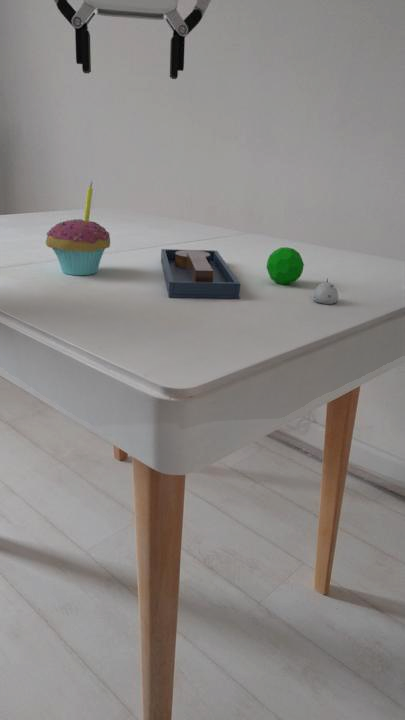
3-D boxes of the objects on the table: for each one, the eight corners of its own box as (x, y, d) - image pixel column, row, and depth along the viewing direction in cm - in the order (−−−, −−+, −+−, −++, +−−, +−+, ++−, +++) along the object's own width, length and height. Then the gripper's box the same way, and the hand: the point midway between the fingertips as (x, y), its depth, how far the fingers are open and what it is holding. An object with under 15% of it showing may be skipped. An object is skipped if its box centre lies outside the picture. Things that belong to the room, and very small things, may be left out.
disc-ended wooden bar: (173, 261, 86) (174, 244, 85) (207, 262, 86) (208, 245, 85) (182, 290, 70) (183, 270, 69) (224, 291, 71) (225, 271, 70)
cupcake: (95, 263, 84) (93, 178, 79) (121, 275, 77) (121, 184, 73) (39, 268, 79) (33, 178, 75) (61, 281, 73) (57, 185, 68)
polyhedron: (257, 280, 78) (260, 246, 77) (282, 277, 81) (286, 244, 79) (283, 289, 75) (287, 253, 73) (308, 285, 78) (312, 250, 76)
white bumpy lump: (330, 297, 72) (333, 277, 71) (343, 306, 69) (346, 285, 68) (307, 297, 72) (309, 277, 71) (318, 306, 68) (321, 285, 67)
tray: (168, 297, 68) (169, 282, 68) (161, 261, 87) (161, 248, 87) (239, 298, 69) (240, 283, 69) (216, 262, 88) (217, 250, 88)
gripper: (211, -93, 61) (203, 82, 67) (47, -110, 59) (55, 73, 65) (221, -122, 54) (211, 77, 60) (36, -142, 52) (46, 66, 58)
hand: (130, 75), depth 63 cm, fingers open, 9 cm apart
